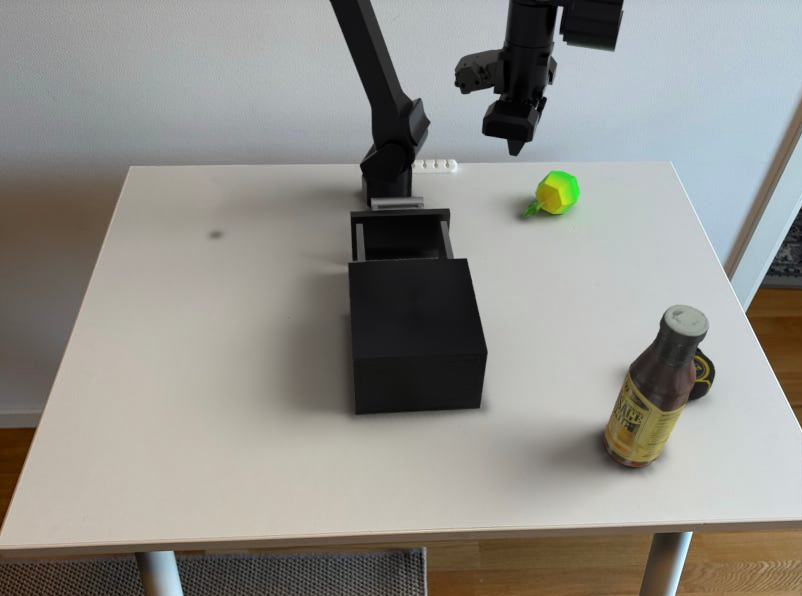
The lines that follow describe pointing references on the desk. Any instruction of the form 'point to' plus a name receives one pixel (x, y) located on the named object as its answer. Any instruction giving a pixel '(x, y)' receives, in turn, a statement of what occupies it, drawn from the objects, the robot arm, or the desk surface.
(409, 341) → the box
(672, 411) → the sauce bottle
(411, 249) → the tray
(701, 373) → the tape measure
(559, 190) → the apple
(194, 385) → the desk surface
